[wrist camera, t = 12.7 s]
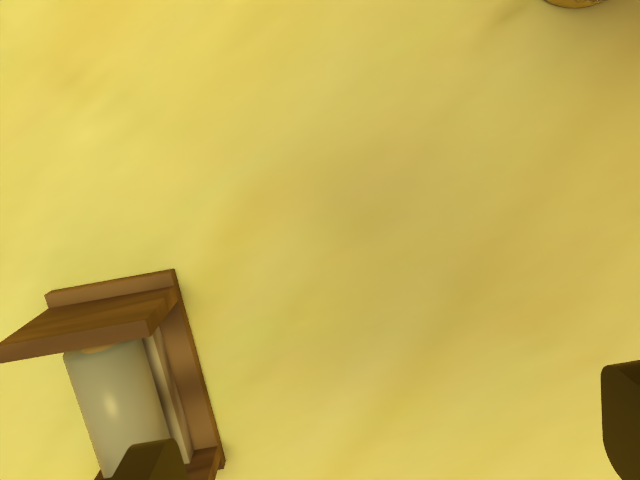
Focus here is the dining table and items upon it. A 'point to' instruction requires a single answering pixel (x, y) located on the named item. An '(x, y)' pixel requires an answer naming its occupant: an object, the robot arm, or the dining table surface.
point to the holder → (159, 343)
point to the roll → (116, 399)
